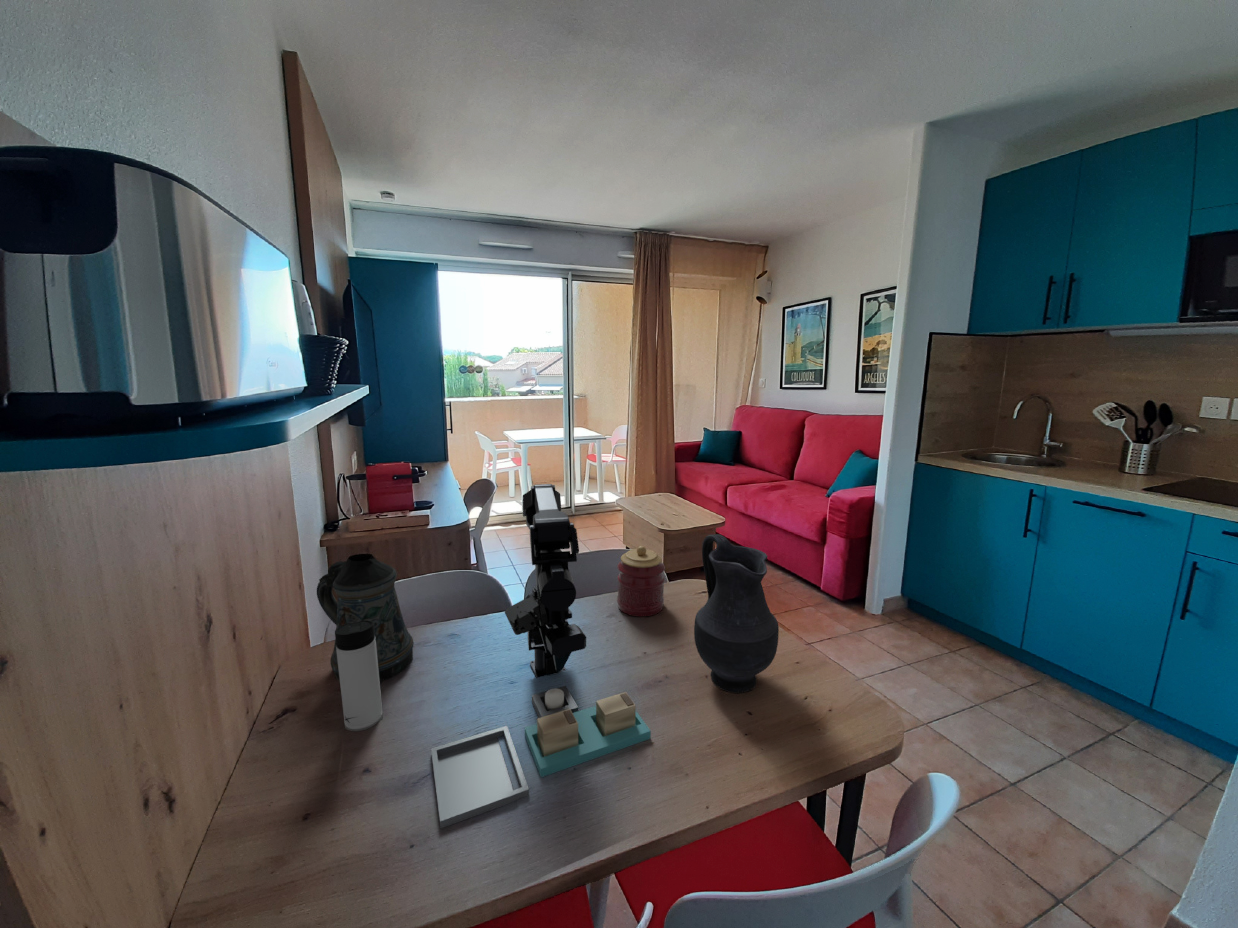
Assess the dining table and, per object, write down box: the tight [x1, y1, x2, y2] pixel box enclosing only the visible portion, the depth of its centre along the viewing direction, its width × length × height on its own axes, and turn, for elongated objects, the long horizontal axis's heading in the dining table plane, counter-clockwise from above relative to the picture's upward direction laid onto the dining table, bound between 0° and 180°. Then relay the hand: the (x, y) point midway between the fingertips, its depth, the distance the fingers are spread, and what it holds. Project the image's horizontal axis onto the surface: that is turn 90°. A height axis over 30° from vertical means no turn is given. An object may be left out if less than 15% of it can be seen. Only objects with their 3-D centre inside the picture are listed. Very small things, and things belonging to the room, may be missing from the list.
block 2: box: [595, 691, 637, 737], centre depth 88 cm, size 4×6×5 cm, turn 115°
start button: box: [544, 688, 565, 712], centre depth 93 cm, size 4×4×2 cm
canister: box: [616, 545, 666, 618], centre depth 134 cm, size 13×13×18 cm
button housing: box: [531, 685, 579, 718], centre depth 94 cm, size 7×7×2 cm
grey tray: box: [430, 725, 530, 829], centre depth 79 cm, size 15×13×2 cm
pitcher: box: [693, 533, 780, 694], centre depth 104 cm, size 17×21×30 cm
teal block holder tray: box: [524, 705, 652, 778], centre depth 87 cm, size 10×20×2 cm, turn 115°
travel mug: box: [334, 620, 384, 732], centre depth 89 cm, size 6×7×20 cm
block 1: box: [536, 709, 578, 757], centre depth 84 cm, size 4×6×5 cm, turn 115°
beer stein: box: [316, 553, 415, 682], centre depth 106 cm, size 16×19×25 cm
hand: (553, 661), depth 92 cm, fingers open, 6 cm apart
